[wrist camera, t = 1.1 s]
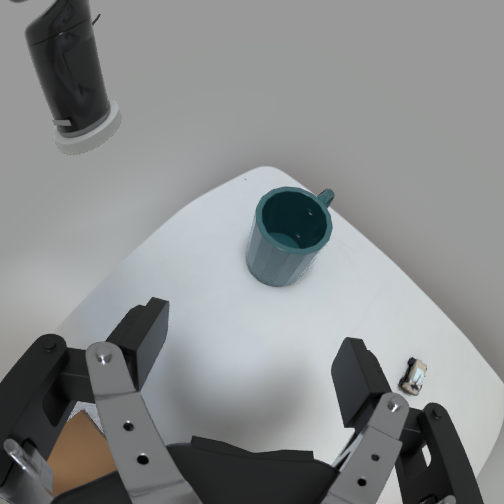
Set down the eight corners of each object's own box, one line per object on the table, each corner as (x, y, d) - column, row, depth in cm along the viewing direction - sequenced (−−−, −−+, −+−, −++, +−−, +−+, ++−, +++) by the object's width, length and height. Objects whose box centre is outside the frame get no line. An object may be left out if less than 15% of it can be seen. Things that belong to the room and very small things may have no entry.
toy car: (423, 367, 25) (434, 365, 24) (409, 397, 24) (420, 397, 22) (410, 357, 26) (420, 355, 24) (395, 388, 24) (406, 388, 22)
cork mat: (22, 459, 15) (19, 460, 14) (84, 409, 20) (81, 409, 19) (103, 547, 11) (102, 549, 11) (181, 509, 17) (181, 512, 16)
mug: (277, 299, 27) (299, 270, 20) (233, 255, 29) (239, 213, 22) (332, 243, 31) (363, 204, 24) (292, 206, 32) (311, 161, 25)
